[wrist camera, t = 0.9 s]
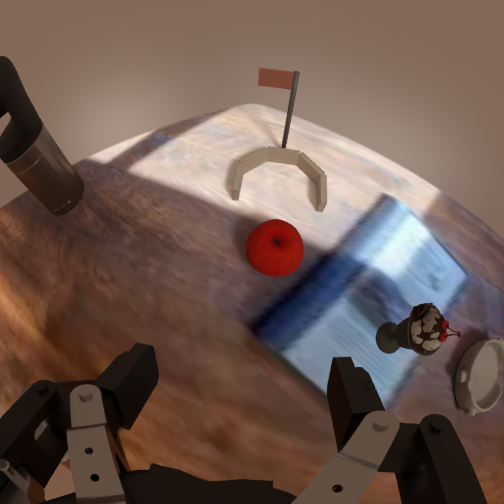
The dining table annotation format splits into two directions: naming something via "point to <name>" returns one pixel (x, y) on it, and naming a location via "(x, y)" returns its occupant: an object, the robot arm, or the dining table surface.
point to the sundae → (415, 331)
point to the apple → (275, 248)
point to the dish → (479, 376)
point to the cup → (282, 154)
